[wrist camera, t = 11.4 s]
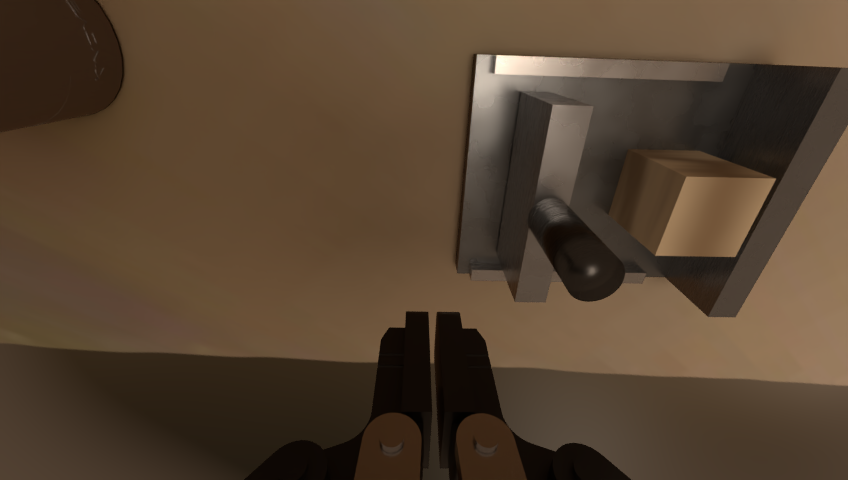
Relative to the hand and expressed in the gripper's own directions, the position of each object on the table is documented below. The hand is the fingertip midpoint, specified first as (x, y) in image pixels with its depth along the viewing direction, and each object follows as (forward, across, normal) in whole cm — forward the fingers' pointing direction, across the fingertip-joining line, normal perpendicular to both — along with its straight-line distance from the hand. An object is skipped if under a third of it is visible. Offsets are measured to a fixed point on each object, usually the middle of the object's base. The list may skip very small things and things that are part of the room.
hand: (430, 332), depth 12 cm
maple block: (+16, -17, 0) cm, 23 cm away
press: (+17, -13, 0) cm, 21 cm away
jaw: (+15, -7, 0) cm, 17 cm away
